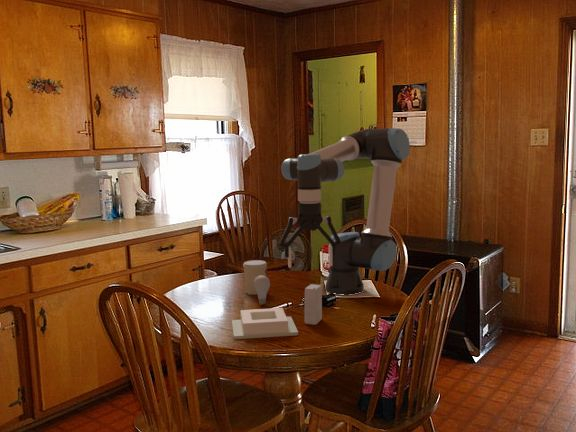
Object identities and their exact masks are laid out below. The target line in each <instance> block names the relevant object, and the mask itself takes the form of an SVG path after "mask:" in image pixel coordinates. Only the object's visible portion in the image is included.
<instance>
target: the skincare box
mask: <svg viewBox="0 0 576 432" xmlns="http://www.w3.org/2000/svg"><path fill="white" fill-rule="evenodd" d="M322 299H323V285H322V284H309V285H307V286H306V287H305V288H304V324H307V325H312V326H313V325H317V324H319V322H320V321H322V320H323V317H322V316H323V300H322Z"/></svg>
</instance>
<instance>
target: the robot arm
mask: <svg viewBox="0 0 576 432" xmlns="http://www.w3.org/2000/svg"><path fill="white" fill-rule="evenodd" d="M410 149H411V146H410V139H409V136H408V134H407V133H406V131H404V129H402V128H396V127H387V128H386V127H385V128H367V129H366V128H365V129H362V130H359V131H355V132H353V133H351V134H348V135H345V136H343V137H341V138H340V140H339V141H338V142H334V143H333V144H330V145H328V146H327V145H326V146H325V147H322V148H320V149H317V150H315V151H312V152H310V153H305V154H303V153H302V154H299V155H298V156H297V158H295V157H291V158H287V159H284V161H283V162H282V164H281V167H280V170H281V175H282V176H283V178H285V180H291V181H297V201H298V203H297V217H291V216H289V217H288V221H287V224H286V227H285V229H284V231H283V233H282V236H281V238H280V239H279V241H278V244H279V246H280V247H283V248H284V257H285V258H287V266H288V269H291V268H292V247H291V245H292V244H293V243H294V241H295V240H296V239H297V238H298V236H299V235H300V234H301V233H302V232H303V230H304V231H306V232H308V231H313V232H314V231H316V230H318V231H319V232H320V234H321V235H322V236H323V237H324V238H325V239H326V240H327V242H328V243H329V244H328V265H329V272H328V275H327V280H326V282H325V292H326V291H327V293H328V292H329V293H328V294H330V293H336V294H344V295H343V296H350V295H349V294H355V293H359V292H362V291H363V290H364V282H363V279H362V275H361V274H360V273H361V272H360V269H361V268H362V269H367V270H372V271H380V272H381V271H387V270H388V269H389V268H391V267H392V265H393V264H394V262H395V260H396V257H397V254H398V253H397V249H398V248H397V244H396V243H395V242H394V240H393V235H392V234H391V233H390V225H391V224H390V223H391V217H392V209H393V200H394V196H395V195H394V193H395V187H396V186H395V185H396V177H397V171H398V169H399V168H400V167H401V166H402V162H403V161H404V160H406V159H407V158H408V157H409V155H410V152H411V151H410ZM356 159H357V160H359V159H370V163H371V164H372V165H373V171H372V172H373V173H372V174H373V175H372V181H371V188H370V196H369V204H368V212H367V218H366V225H365V226H366V227H365V229H364V230H362V231H361V234H360V233H359V232H358V231H350V232H349V231H348V232H342V233H341V232H340V233H339V232H338V233H337V230H336V229H335V227H334V225H333V223H332V218H331V216H330V215H326V216H322V203H321V201H322V183H327V182H336V181H339V180H341V179H342V178H343V176H344V175H345V165H344V163H343V162H345V161H354V160H356ZM323 221H324V224H326V225H327V226H328V228H329V230H330V232H331V236H330V235H329V234H328V233H327V232H326V231H325V230H324V228H323V227H322V226H321V224H322V222H323ZM296 223H298V227H296V229H295V230H294V232H293V233H292V234H291V235H290V232H291V229H292V228H293V225H296ZM289 235H290V237H288V236H289ZM287 238H288V239H287ZM286 240H287V241H286ZM363 292H364V291H363ZM363 292H362V293H363ZM359 294H360V293H359ZM355 295H356V294H355Z"/></svg>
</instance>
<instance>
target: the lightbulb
mask: <svg viewBox="0 0 576 432" xmlns="http://www.w3.org/2000/svg"><path fill="white" fill-rule="evenodd" d="M270 286H271V281H270V279H269V277H267V275H266V276H263V275H261V276H258V277H256V278H255V280H254V288H255V290H256V291H257V298H258V303H259V305H262V306H263V305H265V304H266V303H267V294H268V291H269V289H270Z"/></svg>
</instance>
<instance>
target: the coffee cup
mask: <svg viewBox="0 0 576 432" xmlns="http://www.w3.org/2000/svg"><path fill="white" fill-rule="evenodd" d="M267 265H268V264H267V262H266V261H265V260H261V259H259V260H258V259H254V260H253V259H252V260H247V261H244V262H243V264H242V266H243V274H244V275H243V276H244V277H243V278H244V284H245V285H244V286H245V294H248V295H252V296H253V295H255V296H256V295H257V296H258V294H257V291H256V290H255V288H254V280H255V278H256V277H258V276H261V275H263V276H266V277H267Z"/></svg>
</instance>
